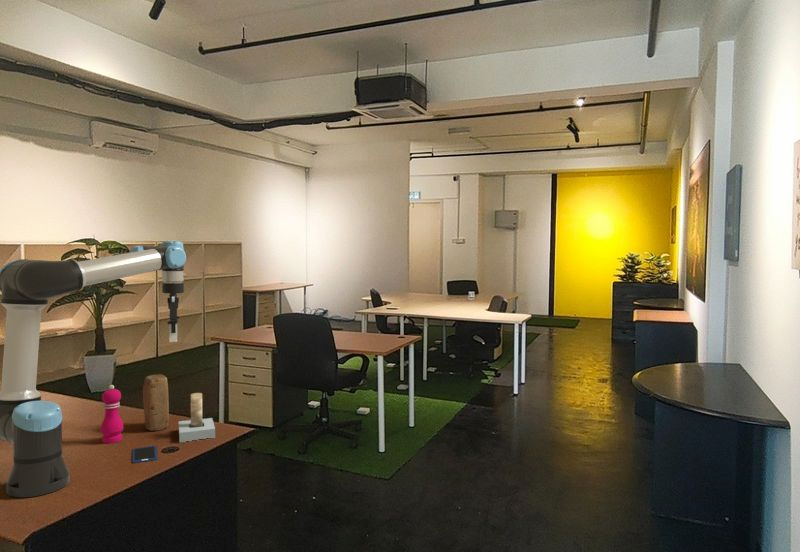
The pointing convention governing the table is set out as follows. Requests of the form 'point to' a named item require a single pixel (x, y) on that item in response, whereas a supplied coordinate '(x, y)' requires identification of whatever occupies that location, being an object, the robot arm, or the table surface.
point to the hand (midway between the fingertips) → (173, 339)
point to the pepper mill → (111, 416)
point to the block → (156, 402)
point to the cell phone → (144, 454)
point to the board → (196, 430)
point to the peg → (196, 410)
